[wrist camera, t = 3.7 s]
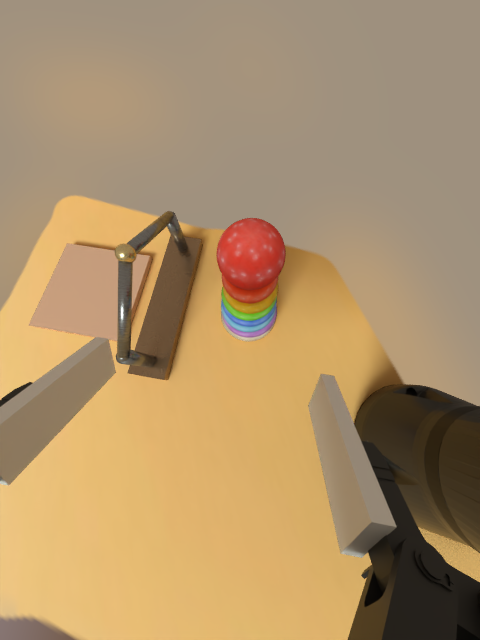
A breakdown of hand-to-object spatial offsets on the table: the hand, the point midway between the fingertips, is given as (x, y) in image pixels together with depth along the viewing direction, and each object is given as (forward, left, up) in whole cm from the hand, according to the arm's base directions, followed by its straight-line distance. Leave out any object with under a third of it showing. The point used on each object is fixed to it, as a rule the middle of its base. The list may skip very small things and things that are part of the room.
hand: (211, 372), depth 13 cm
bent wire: (+14, -3, -16) cm, 22 cm away
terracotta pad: (+24, +3, -16) cm, 29 cm away
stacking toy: (+3, -9, -17) cm, 19 cm away
